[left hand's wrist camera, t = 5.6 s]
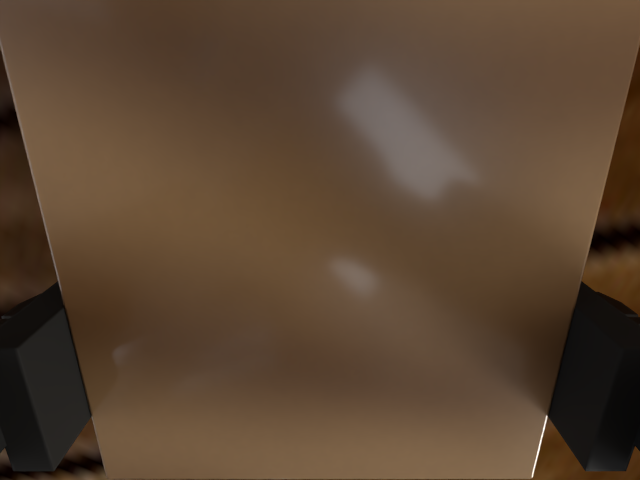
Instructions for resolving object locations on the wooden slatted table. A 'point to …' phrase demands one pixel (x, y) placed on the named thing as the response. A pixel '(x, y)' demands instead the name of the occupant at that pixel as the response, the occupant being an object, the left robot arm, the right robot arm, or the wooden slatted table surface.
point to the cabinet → (319, 222)
